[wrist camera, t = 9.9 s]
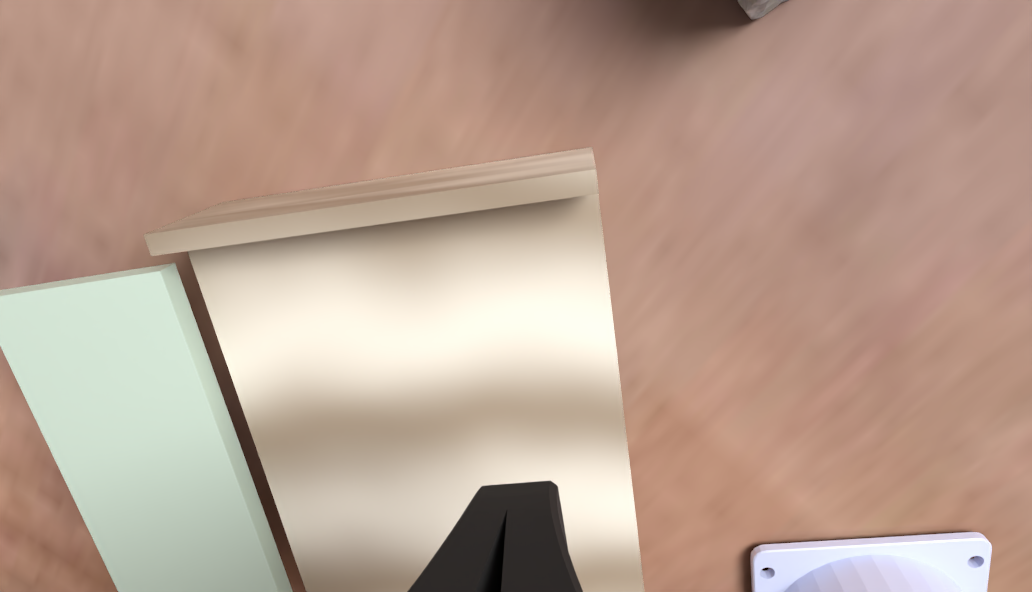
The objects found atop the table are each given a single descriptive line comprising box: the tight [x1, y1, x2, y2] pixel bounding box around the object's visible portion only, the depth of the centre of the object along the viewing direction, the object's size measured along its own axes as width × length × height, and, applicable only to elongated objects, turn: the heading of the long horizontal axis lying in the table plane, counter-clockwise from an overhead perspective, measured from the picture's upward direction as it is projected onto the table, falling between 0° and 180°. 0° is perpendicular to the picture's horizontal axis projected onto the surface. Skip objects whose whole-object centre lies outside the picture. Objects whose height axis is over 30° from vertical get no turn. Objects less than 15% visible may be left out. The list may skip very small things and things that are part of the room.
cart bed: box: [144, 147, 644, 592], centre depth 20 cm, size 16×12×4 cm
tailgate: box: [0, 263, 293, 592], centre depth 21 cm, size 14×1×6 cm
